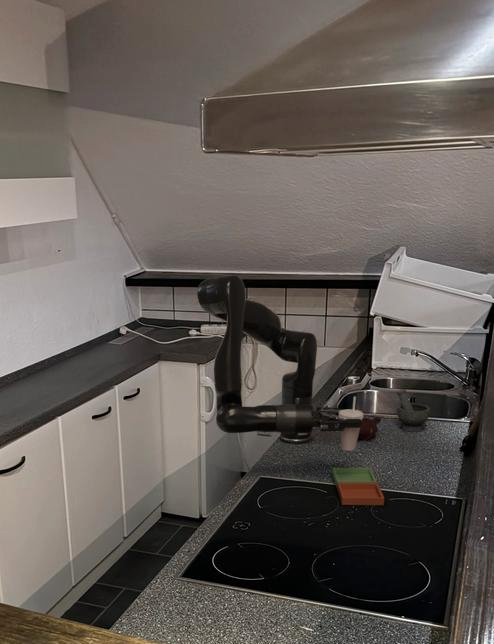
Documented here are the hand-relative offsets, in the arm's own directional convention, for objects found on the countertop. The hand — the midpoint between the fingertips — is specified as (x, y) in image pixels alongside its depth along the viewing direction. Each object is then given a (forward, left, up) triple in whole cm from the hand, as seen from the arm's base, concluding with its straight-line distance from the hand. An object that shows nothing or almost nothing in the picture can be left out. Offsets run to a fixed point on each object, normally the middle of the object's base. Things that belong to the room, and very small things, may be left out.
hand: (358, 419), depth 196 cm
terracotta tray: (+10, 0, -17) cm, 20 cm away
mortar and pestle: (-47, +24, -18) cm, 56 cm away
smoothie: (0, -2, -8) cm, 9 cm away
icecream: (-36, +8, -18) cm, 41 cm away
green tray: (-1, 0, -17) cm, 18 cm away
